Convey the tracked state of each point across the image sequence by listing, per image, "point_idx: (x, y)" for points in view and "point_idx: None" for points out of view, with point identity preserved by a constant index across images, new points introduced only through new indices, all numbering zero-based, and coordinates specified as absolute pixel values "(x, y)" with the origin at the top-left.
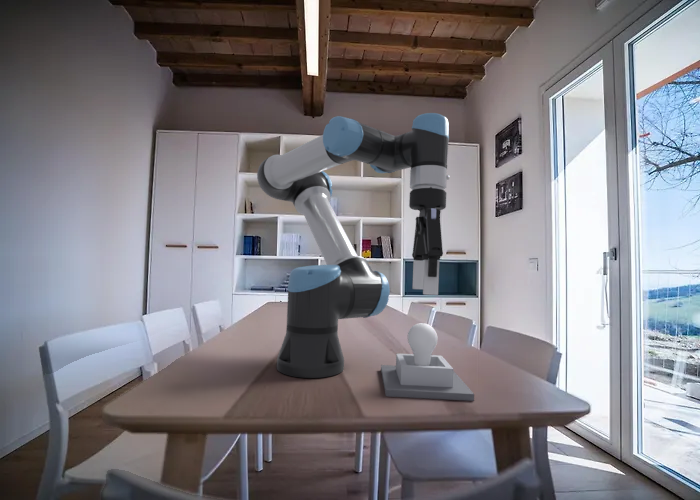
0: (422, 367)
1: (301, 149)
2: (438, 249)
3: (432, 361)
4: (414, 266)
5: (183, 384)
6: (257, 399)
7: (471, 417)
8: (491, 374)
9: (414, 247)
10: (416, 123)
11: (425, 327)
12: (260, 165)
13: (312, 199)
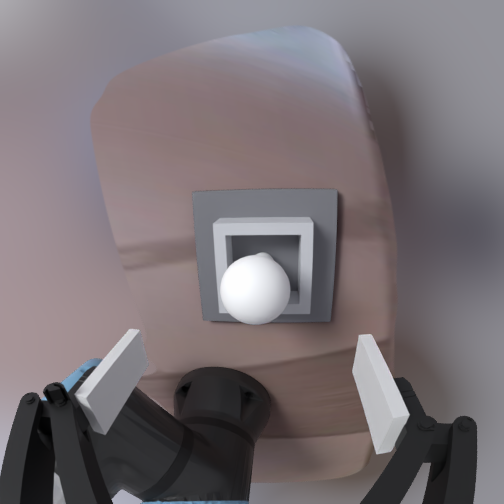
0: (311, 279)
1: None
2: (450, 449)
3: (227, 242)
4: (115, 415)
5: (301, 468)
6: (339, 425)
7: (392, 214)
8: (183, 114)
9: (53, 461)
10: None
11: (274, 300)
12: None
13: None
